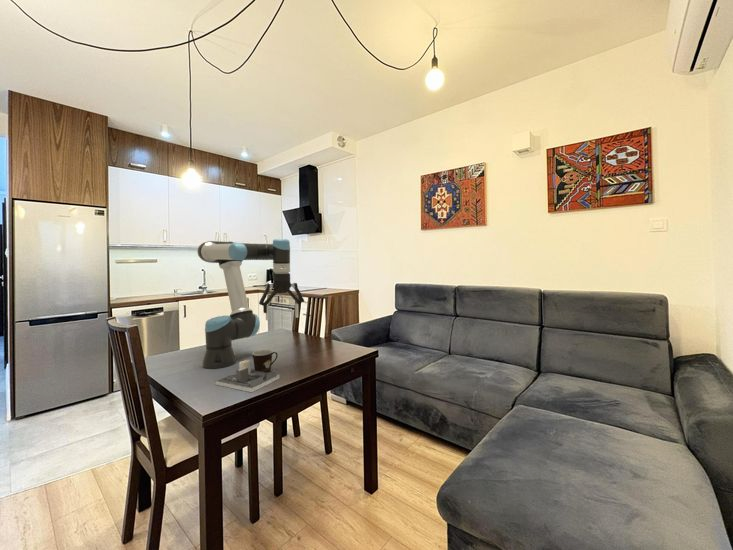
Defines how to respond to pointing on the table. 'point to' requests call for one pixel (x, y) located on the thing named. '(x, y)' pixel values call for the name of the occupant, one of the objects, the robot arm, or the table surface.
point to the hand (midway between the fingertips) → (282, 318)
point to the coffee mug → (263, 360)
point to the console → (250, 380)
